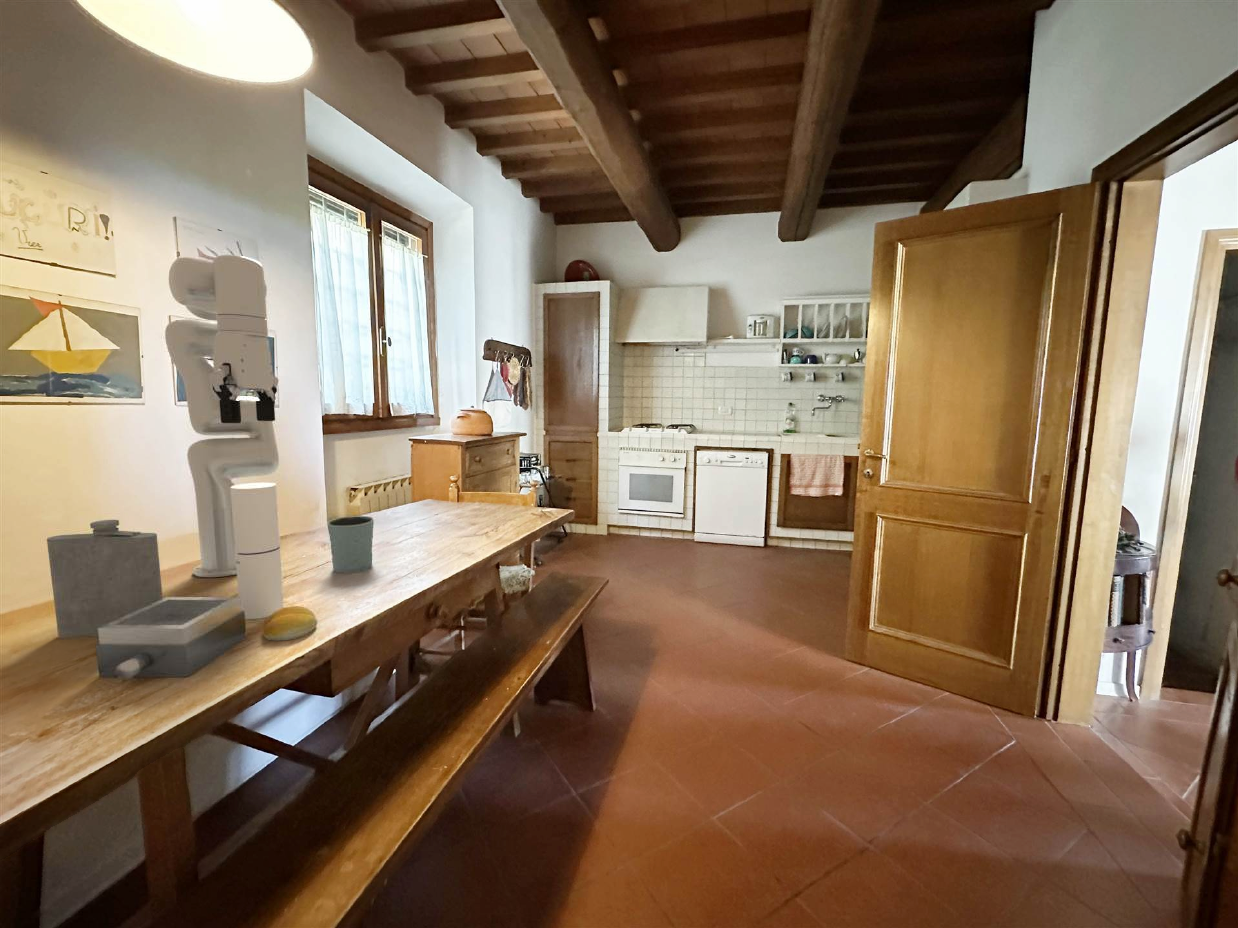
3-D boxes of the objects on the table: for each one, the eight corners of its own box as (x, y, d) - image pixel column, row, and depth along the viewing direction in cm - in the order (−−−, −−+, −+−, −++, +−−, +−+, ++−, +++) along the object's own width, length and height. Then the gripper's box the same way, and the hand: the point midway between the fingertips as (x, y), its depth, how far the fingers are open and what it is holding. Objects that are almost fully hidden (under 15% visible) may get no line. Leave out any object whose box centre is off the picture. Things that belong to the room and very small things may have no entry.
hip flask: (53, 639, 91) (39, 525, 88) (73, 628, 95) (60, 519, 92) (157, 634, 93) (147, 523, 91) (172, 624, 97) (163, 517, 95)
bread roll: (262, 646, 90) (261, 624, 89) (264, 627, 97) (263, 606, 97) (318, 635, 94) (317, 614, 94) (316, 617, 102) (315, 597, 101)
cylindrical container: (262, 620, 99) (253, 489, 96) (230, 617, 101) (220, 487, 98) (292, 606, 106) (285, 483, 103) (262, 603, 108) (254, 481, 105)
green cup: (368, 559, 138) (366, 514, 136) (381, 568, 130) (379, 521, 129) (324, 567, 131) (322, 519, 129) (336, 577, 123) (333, 527, 122)
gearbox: (169, 637, 92) (166, 596, 91) (246, 638, 92) (243, 596, 91) (79, 687, 76) (73, 638, 75) (172, 687, 76) (167, 638, 75)
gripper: (253, 333, 105) (259, 420, 107) (184, 320, 88) (193, 423, 90) (291, 334, 105) (296, 420, 107) (230, 321, 88) (238, 424, 90)
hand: (249, 421), depth 99 cm, fingers open, 9 cm apart
